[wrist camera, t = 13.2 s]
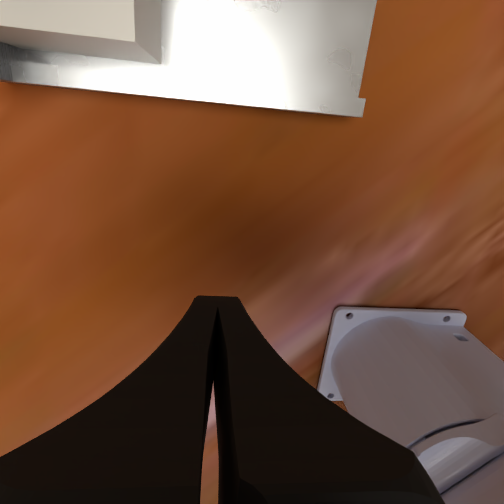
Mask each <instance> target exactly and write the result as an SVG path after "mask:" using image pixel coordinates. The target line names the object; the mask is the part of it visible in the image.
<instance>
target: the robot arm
mask: <svg viewBox="0 0 504 504" xmlns="http://www.w3.org/2000/svg"><path fill="white" fill-rule="evenodd" d="M348 313H351V314H350V315H349V316H346V314H348ZM445 316H446V318H444V317H445ZM443 318H444V319H443ZM466 318H467V316H466V314H464V313H463V312H462V311H457V310H428V309H399V308H369V307H338V308H336V309H335V310H334V313H333V317H332V322H331V327H330V331H329V336H328V341H327V345H326V350H325V355H324V359H323V364H322V369H321V374H320V378H319V383H318V388H317V390H316V389H315V388H314V387H312V386H311V385H310V384H309V383H307V382H306V381H305V380H304V379H303V378H302V377H300V376H299V375H298V374H297V373H296V372H295V371H294V370H293V369H292V368H291V367H290V366H289V365H288V364H287V363H286V362H285V361H284V360H283V359H282V358H281V357H280V356H279V355H278V353H277V352H276V351H275V350H274V349H273V348H272V346H271V345H270V344H269V343H268V342H267V340H266V339H265V338H264V336H263V335H262V334H261V332H260V331H259V330H258V328H257V327H256V325H255V324H254V323H253V321H252V320H251V318H250V316H249V315H248V313H247V312H246V310H245V308H244V306H243V305H242V303H241V301H240V299H239V298H238V297H225V296H197V297H196V298H194V300H193V302H192V304H191V306H190V307H189V309H188V311H187V312H186V314H185V315H184V316H183V318H182V319H181V321H180V322H179V323H178V324H177V326H176V327H175V328H174V330H173V331H172V332H171V333H170V335H169V336H168V337H167V338H166V339H165V340H164V341H163V342H162V344H161V345H160V346H159V347H158V348H157V349H156V350H155V351H154V352H153V353H152V354H151V355H150V356H149V357H148V358H147V359H146V360H145V361H144V362H143V363H142V364H141V365H140V366H139V367H138V368H137V369H135V370H134V371H133V372H132V373H131V374H130V375H128V376H127V377H126V378H125V379H124V380H122V381H121V382H120V383H119V384H117V385H116V386H115V387H114V388H113V389H111V390H110V391H109V392H107V393H106V394H105V395H103V396H102V397H101V398H99V399H98V400H96V401H95V402H93V403H92V404H90V405H89V406H87V407H86V408H84V409H83V410H81V411H80V412H78V413H77V414H75V415H73V416H72V417H70V418H69V419H67V420H66V421H64V422H62V423H61V424H59V425H57V426H56V427H54V428H52V429H51V430H49V431H47V432H45V433H43V434H42V435H40V436H38V437H36V438H34V439H33V440H31V441H29V442H27V443H25V444H23V445H22V446H20V447H18V448H16V449H14V450H13V451H11V452H9V453H7V454H5V455H3V456H1V457H0V504H200V492H201V474H202V461H203V451H204V443H205V436H206V429H207V422H208V415H209V407H210V400H211V393H212V386H213V381H214V395H215V410H216V424H217V438H218V455H219V490H218V504H504V362H503V361H502V360H501V359H500V358H499V357H498V356H496V355H495V354H494V353H493V352H492V351H491V350H490V349H488V348H487V347H486V346H485V345H484V344H483V343H482V342H480V341H479V340H478V339H477V338H476V337H475V336H473V335H472V334H471V333H470V332H469V331H468V330H467V329H465V328H464V327H463V326H464V324H465V321H466ZM330 393H331V394H330ZM328 394H329V395H328ZM332 401H344V404H345V406H346V408H347V411H348V413H347V412H346V411H344V410H343V409H341V408H340V407H339V406H337V405H336V404H334V403H333V402H332Z"/></svg>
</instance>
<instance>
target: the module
mask: <svg viewBox="0 0 504 504" xmlns="http://www.w3.org/2000/svg"><path fill="white" fill-rule="evenodd" d="M0 42H3V43H6V44H9V45H12V46H15V47H18V48H22V49H31V50H40V51H48V52H57V53H66V54H75V55H83V56H92V57H101V58H110V59H118V60H127V61H136V62H145V63H153V64H161V0H0Z"/></svg>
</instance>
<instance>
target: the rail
mask: <svg viewBox="0 0 504 504" xmlns="http://www.w3.org/2000/svg"><path fill="white" fill-rule="evenodd" d="M376 2H377V0H161V64H153V63H145V62H136V61H127V60H118V59H110V58H101V57H92V56H83V55H75V54H66V53H57V52H48V51H40V50H31V49H22V48H18V47H15V46H12V45H9V44H6V43H3V42H0V82H7V83H16V84H26V85H36V86H46V87H56V88H65V89H75V90H85V91H95V92H105V93H115V94H124V95H134V96H144V97H154V98H164V99H174V100H183V101H193V102H203V103H213V104H223V105H232V106H242V107H252V108H262V109H272V110H282V111H291V112H301V113H311V114H321V115H331V116H341V117H362V116H363V111H364V106H365V101H366V99H363V98H358V96H359V90H360V85H361V80H362V75H363V70H364V64H365V59H366V54H367V49H368V43H369V38H370V33H371V28H372V23H373V17H374V12H375V7H376Z"/></svg>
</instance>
